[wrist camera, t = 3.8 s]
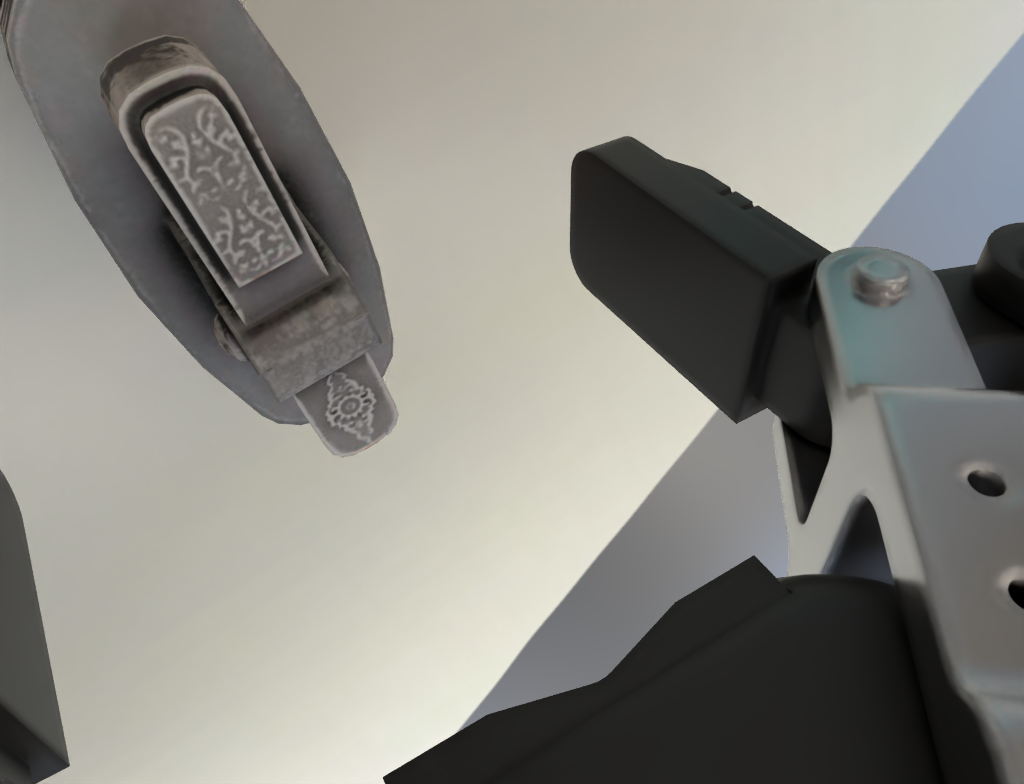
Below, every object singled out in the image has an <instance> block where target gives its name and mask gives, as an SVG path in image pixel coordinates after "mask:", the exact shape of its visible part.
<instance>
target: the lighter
mask: <svg viewBox="0 0 1024 784" xmlns="http://www.w3.org/2000/svg"><path fill="white" fill-rule="evenodd" d="M0 27H1V32H2V36H3V40H4V44H5V48H6V52H7V56H8V59H9V62H10V64H11V67H12V69H13V72H14V75H15V77H16V79H17V81H18V84H19V86H20V88H21V90H22V92H23V94H24V96H25V98H26V100H27V102H28V104H29V106H30V108H31V110H32V112H33V115H34V117H35V119H36V121H37V123H38V125H39V127H40V129H41V131H42V133H43V135H44V137H45V139H46V141H47V143H48V146H49V148H50V150H51V152H52V154H53V156H54V158H55V160H56V162H57V164H58V166H59V168H60V170H61V172H62V174H63V177H64V179H65V181H66V183H67V185H68V187H69V189H70V191H71V193H72V195H73V197H74V199H75V201H76V202H77V204H78V206H79V207H80V209H81V210H82V212H83V213H84V215H85V216H86V218H87V219H88V221H89V222H90V224H91V225H92V227H93V228H94V230H95V232H96V233H97V235H98V236H99V238H100V239H101V241H102V242H103V244H104V245H105V247H106V248H107V250H108V251H109V253H110V254H111V256H112V257H113V259H114V261H115V262H116V264H117V265H118V267H119V268H120V270H121V271H122V273H123V274H124V276H125V277H126V279H127V280H128V282H129V283H130V285H131V287H132V288H133V290H134V291H135V293H136V294H137V296H138V297H139V298H140V299H141V300H142V301H143V302H144V304H145V305H146V306H147V307H148V308H149V309H150V310H151V311H152V312H153V313H154V314H155V316H156V317H157V318H158V319H159V320H160V321H161V322H162V323H163V324H164V325H165V327H166V328H167V329H168V330H169V331H170V332H171V333H172V334H173V335H174V336H175V337H176V339H177V340H178V341H179V342H180V343H181V344H182V345H183V346H184V347H185V348H186V349H187V351H188V352H189V353H190V354H191V355H192V356H193V357H194V358H195V359H196V360H197V362H198V363H199V364H200V365H201V366H202V367H203V368H204V369H206V370H207V371H208V372H209V373H210V374H212V375H213V376H214V377H215V378H217V379H218V380H219V381H220V382H221V383H223V384H224V385H225V386H226V387H228V388H229V389H230V390H231V391H232V392H234V393H235V394H236V395H237V396H239V397H240V398H241V399H242V400H243V401H245V402H246V403H247V404H248V405H249V406H251V407H252V408H253V409H254V410H256V411H257V412H258V413H259V414H260V415H262V416H264V417H266V418H268V419H270V420H272V421H274V422H276V423H279V424H293V425H303V424H308V423H310V424H311V425H312V427H313V428H314V430H315V431H316V433H317V434H318V436H319V437H320V439H321V440H322V442H323V443H324V445H325V446H326V448H327V449H328V450H329V451H330V452H331V453H332V454H333V455H337V456H340V457H346V456H352V455H355V454H357V453H359V452H361V451H363V450H365V449H367V448H369V447H370V446H372V445H374V444H375V443H377V442H379V441H380V440H381V439H383V438H384V437H385V436H386V435H388V434H389V433H390V432H391V431H392V429H393V428H394V427H395V425H396V424H397V419H398V412H397V408H396V405H395V403H394V401H393V399H392V397H391V395H390V393H389V391H388V389H387V387H386V385H385V383H384V381H383V379H382V377H383V376H384V374H385V372H386V370H387V367H388V365H389V363H390V361H391V359H392V356H393V334H392V329H391V324H390V319H389V313H388V308H387V303H386V298H385V293H384V288H383V283H382V278H381V272H380V267H379V264H378V261H377V259H376V256H375V253H374V250H373V247H372V244H371V241H370V238H369V235H368V232H367V230H366V227H365V224H364V221H363V218H362V215H361V212H360V209H359V206H358V203H357V201H356V198H355V195H354V192H353V189H352V186H351V183H350V181H349V179H348V177H347V176H346V174H345V172H344V170H343V168H342V166H341V164H340V162H339V161H338V159H337V157H336V155H335V153H334V151H333V149H332V147H331V145H330V144H329V142H328V140H327V138H326V136H325V134H324V132H323V130H322V128H321V127H320V125H319V123H318V121H317V119H316V117H315V115H314V113H313V112H312V110H311V108H310V106H309V104H308V102H307V100H306V98H305V96H304V95H303V93H302V91H301V89H300V87H299V86H298V84H297V83H296V81H295V80H294V79H293V77H292V76H291V74H290V73H289V71H288V70H287V68H286V67H285V66H284V64H283V63H282V61H281V60H280V58H279V57H278V56H277V54H276V53H275V51H274V50H273V48H272V47H271V46H270V44H269V43H268V41H267V40H266V38H265V37H264V35H263V34H262V33H261V31H260V30H259V28H258V27H257V25H256V24H255V23H254V21H253V20H252V18H251V17H250V15H249V14H248V12H247V11H246V10H245V8H244V7H243V5H242V4H241V2H240V1H239V0H0Z"/></svg>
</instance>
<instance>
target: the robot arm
mask: <svg viewBox="0 0 1024 784" xmlns="http://www.w3.org/2000/svg"><path fill="white" fill-rule="evenodd" d="M570 253H571V259H572V263H573V266H574V269H575V271H576V273H577V275H578V277H579V279H580V281H581V282H582V284H583V285H584V286H585V287H586V288H587V289H588V290H589V291H590V292H591V293H592V294H593V295H594V296H595V297H596V298H597V299H599V300H600V301H601V302H602V303H603V304H604V305H605V306H606V307H607V308H609V309H610V310H611V311H612V312H613V313H614V314H615V315H616V316H617V317H619V318H620V319H621V320H622V321H623V322H624V323H625V324H626V325H627V326H628V327H630V328H631V329H632V330H633V331H634V332H635V333H636V334H637V335H638V336H640V337H641V338H642V339H643V340H644V341H645V342H646V343H647V344H648V345H650V346H651V347H652V348H653V349H654V350H655V351H656V352H657V353H658V354H659V355H661V356H662V357H663V358H664V359H665V360H666V361H667V362H668V363H669V364H671V365H672V366H673V367H674V368H675V369H676V370H677V371H678V372H679V373H681V374H682V375H683V376H684V377H685V378H686V379H687V380H688V381H689V382H690V383H692V384H693V385H694V386H695V387H696V388H697V389H698V390H699V391H700V392H702V393H703V394H704V395H705V396H706V397H707V398H708V399H709V400H710V401H712V402H713V403H714V404H715V405H716V406H717V407H718V408H719V409H720V410H721V411H723V412H724V413H725V414H726V415H727V416H728V417H729V418H730V419H731V420H733V421H734V422H735V423H736V424H737V423H739V422H741V421H743V420H745V419H747V418H748V417H750V416H752V415H754V414H756V413H758V412H760V411H762V410H764V409H766V408H768V409H770V410H771V411H772V412H773V413H774V414H776V418H775V422H774V425H773V430H772V435H773V442H774V449H775V456H776V462H777V469H778V475H779V482H780V489H781V495H782V501H783V508H784V515H785V521H786V528H787V534H788V543H789V563H788V571H787V577H781V578H775V576H774V575H773V574H772V573H771V572H770V571H769V570H768V569H767V568H766V567H765V566H764V565H763V564H762V563H761V562H760V561H759V560H758V559H757V558H756V557H755V556H752V557H751V558H749V559H747V560H745V561H744V562H742V563H740V564H739V565H737V566H736V567H734V568H732V569H730V570H729V571H727V572H725V573H724V574H722V575H720V576H719V577H717V578H715V579H714V580H712V581H710V582H709V583H707V584H705V585H704V586H702V587H700V588H699V589H697V590H695V591H694V592H692V593H691V594H689V595H687V596H685V597H684V598H682V599H680V600H678V601H677V602H675V603H674V605H672V606H671V608H670V609H669V610H668V611H667V612H666V613H665V614H664V615H663V616H662V618H660V620H659V621H658V622H657V623H656V624H655V625H654V626H653V627H652V628H651V629H650V630H649V632H648V633H647V634H646V635H645V636H644V637H643V638H642V639H641V640H640V642H638V644H637V645H636V646H635V647H634V648H633V649H632V650H631V651H630V652H629V653H628V654H627V656H626V657H625V658H624V659H623V660H622V661H621V662H620V663H619V664H618V665H617V666H616V667H615V669H614V670H613V671H612V672H611V673H610V674H609V675H608V676H606V677H605V678H603V679H602V680H600V681H598V682H596V683H593V684H590V685H587V686H583V687H580V688H577V689H573V690H570V691H566V692H563V693H560V694H556V695H553V696H549V697H546V698H543V699H540V700H536V701H532V702H529V703H526V704H522V705H519V706H515V707H512V708H508V709H505V710H502V711H498V712H495V713H492V714H488V715H486V716H485V717H483V718H481V719H480V720H478V721H476V722H475V723H473V724H471V725H469V726H468V727H466V728H464V729H463V730H461V731H459V732H458V733H456V734H454V735H453V736H451V737H449V738H448V739H446V740H444V741H443V742H441V743H439V744H438V745H436V746H434V747H433V748H431V749H429V750H427V751H426V752H424V753H422V754H421V755H419V756H417V757H416V758H414V759H412V760H411V761H409V762H407V763H406V764H404V765H402V766H401V767H399V768H397V769H396V770H394V771H392V772H391V773H389V774H387V775H386V776H384V777H383V779H384V782H385V784H1024V223H1014V224H1009V225H1006V226H1002V227H1000V228H998V229H997V230H995V231H994V232H993V233H991V235H990V236H989V238H988V240H987V242H986V245H985V247H984V249H983V251H982V253H981V256H980V258H979V260H978V263H977V264H975V265H969V266H963V267H956V268H949V269H942V270H936V271H932V270H930V269H929V268H928V267H927V266H926V265H924V264H923V263H921V262H920V261H918V260H916V259H914V258H912V257H910V256H908V255H905V254H902V253H900V252H896V251H892V250H889V249H883V248H877V247H852V248H846V249H842V250H838V251H836V252H834V253H831V252H830V251H828V250H827V249H825V248H824V247H822V246H820V245H819V244H817V243H816V242H814V241H813V240H811V239H810V238H808V237H806V236H805V235H803V234H802V233H800V232H799V231H797V230H796V229H794V228H792V227H791V226H789V225H788V224H786V223H785V222H783V221H781V220H780V219H778V218H777V217H775V216H774V215H772V214H771V213H769V212H767V211H766V210H764V209H763V208H761V207H760V206H756V207H754V206H753V204H752V201H750V200H749V199H747V198H746V197H744V196H742V195H741V194H739V193H738V192H736V191H735V192H733V193H732V192H731V188H730V187H728V186H727V185H725V184H724V183H722V182H721V181H719V180H717V179H716V178H714V177H713V176H711V175H710V174H708V173H707V172H705V171H703V170H700V169H697V168H694V167H691V166H688V165H684V164H681V163H678V162H675V161H672V160H669V159H665V158H664V157H662V156H661V155H659V154H658V153H656V152H655V151H653V150H652V149H650V148H648V147H647V146H645V145H644V144H642V143H641V142H639V141H638V140H636V139H634V138H632V137H629V136H624V137H621V138H618V139H615V140H613V141H610V142H607V143H604V144H601V145H598V146H595V147H592V148H589V149H586V150H583V151H581V152H579V153H577V154H576V156H575V157H574V160H573V162H572V167H571V212H570ZM69 766H70V764H69V759H68V753H67V748H66V743H65V738H64V732H63V727H62V722H61V717H60V712H59V706H58V701H57V696H56V691H55V685H54V680H53V675H52V670H51V665H50V659H49V654H48V649H47V644H46V638H45V633H44V628H43V623H42V618H41V612H40V607H39V602H38V597H37V591H36V586H35V581H34V576H33V571H32V565H31V560H30V555H29V550H28V544H27V539H26V534H25V529H24V524H23V519H22V515H21V511H20V508H19V505H18V503H17V500H16V498H15V495H14V493H13V491H12V489H11V487H10V485H9V483H8V481H7V480H6V478H5V476H4V474H3V473H2V471H1V470H0V784H36V783H38V782H40V781H42V780H44V779H46V778H48V777H50V776H52V775H53V774H55V773H57V772H59V771H61V770H63V769H65V768H67V767H69Z"/></svg>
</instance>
